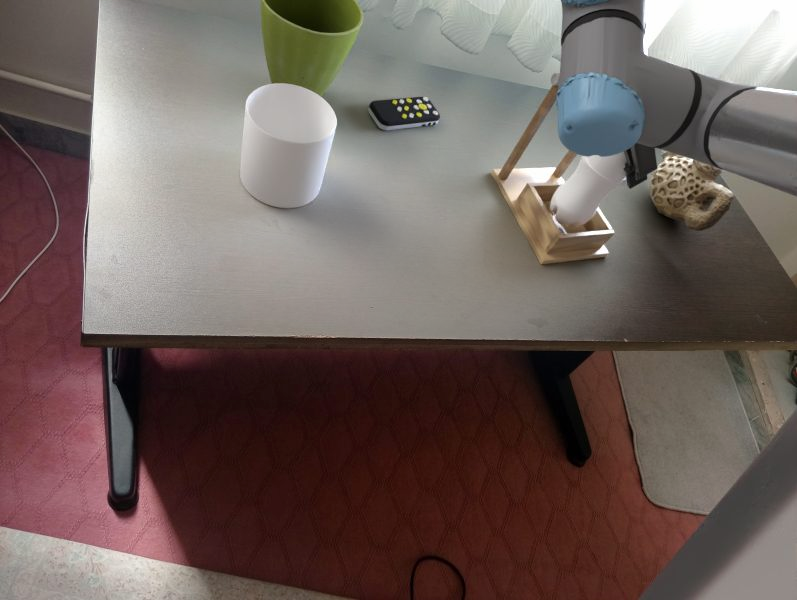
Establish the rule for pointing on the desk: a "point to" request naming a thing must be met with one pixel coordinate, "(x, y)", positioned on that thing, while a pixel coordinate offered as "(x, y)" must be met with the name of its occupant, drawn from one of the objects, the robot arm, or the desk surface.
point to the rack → (548, 201)
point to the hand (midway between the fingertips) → (623, 163)
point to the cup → (285, 144)
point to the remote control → (403, 113)
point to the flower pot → (308, 39)
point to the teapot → (689, 191)
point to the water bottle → (587, 188)
